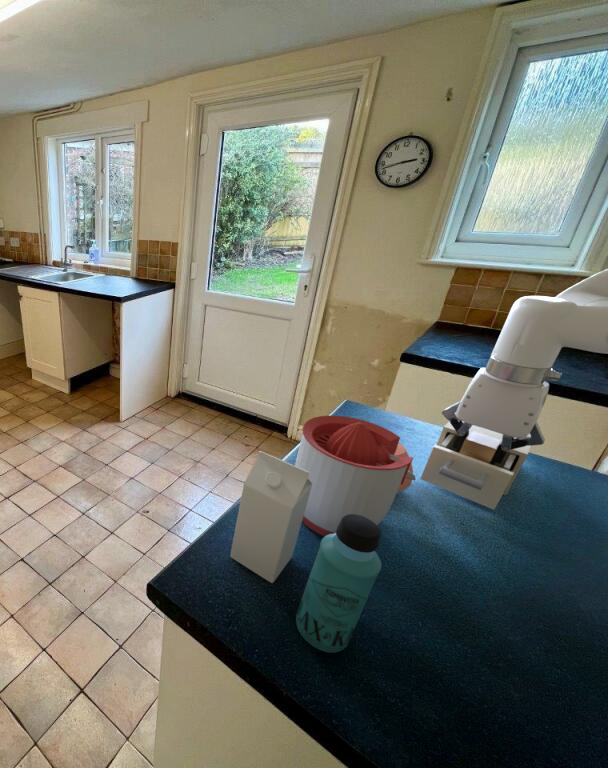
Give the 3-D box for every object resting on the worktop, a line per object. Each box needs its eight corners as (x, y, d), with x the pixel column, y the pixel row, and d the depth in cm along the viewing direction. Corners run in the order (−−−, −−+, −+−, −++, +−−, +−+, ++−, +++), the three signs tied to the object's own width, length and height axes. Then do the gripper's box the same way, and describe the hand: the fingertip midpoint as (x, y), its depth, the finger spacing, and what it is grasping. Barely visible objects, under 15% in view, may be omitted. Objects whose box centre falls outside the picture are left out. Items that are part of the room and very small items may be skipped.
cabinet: (505, 495, 80) (528, 454, 76) (427, 465, 88) (443, 426, 84) (519, 465, 88) (540, 427, 84) (446, 440, 97) (462, 404, 93)
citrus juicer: (406, 565, 65) (453, 461, 57) (287, 540, 70) (314, 441, 61) (377, 500, 79) (411, 408, 70) (279, 483, 83) (300, 395, 75)
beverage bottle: (286, 611, 58) (318, 501, 50) (336, 617, 57) (378, 506, 49) (300, 659, 52) (340, 543, 44) (356, 666, 52) (408, 550, 43)
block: (492, 459, 78) (501, 440, 76) (486, 469, 76) (496, 449, 74) (462, 449, 81) (471, 430, 79) (456, 458, 79) (465, 438, 77)
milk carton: (250, 533, 71) (270, 441, 63) (292, 557, 67) (319, 461, 58) (229, 557, 67) (247, 461, 58) (272, 584, 62) (298, 484, 54)
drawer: (487, 524, 72) (506, 489, 68) (410, 491, 80) (424, 457, 76) (508, 479, 83) (526, 446, 79) (439, 453, 91) (452, 423, 87)
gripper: (590, 380, 67) (539, 471, 75) (459, 351, 79) (427, 433, 87) (586, 393, 63) (532, 489, 70) (448, 361, 74) (415, 446, 82)
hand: (475, 457), depth 78 cm, fingers closed on block, 4 cm apart
